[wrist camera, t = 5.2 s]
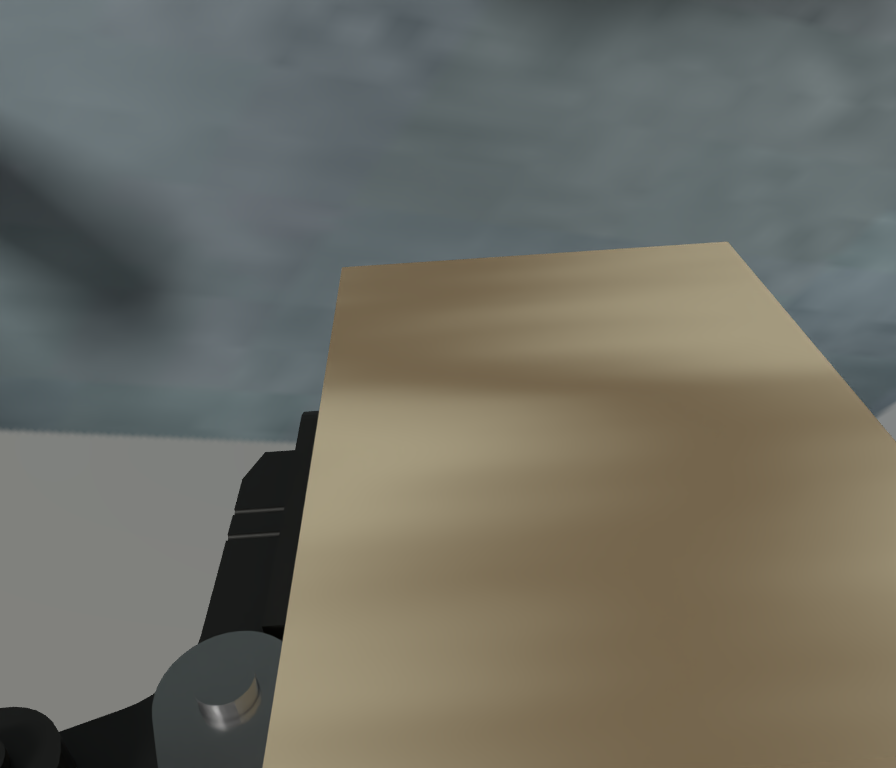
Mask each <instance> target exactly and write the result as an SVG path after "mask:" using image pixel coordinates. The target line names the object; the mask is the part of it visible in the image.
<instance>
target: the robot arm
mask: <svg viewBox="0 0 896 768" xmlns="http://www.w3.org/2000/svg"><path fill="white" fill-rule="evenodd" d="M318 416H319V411H309V412H303V414H302V417H301V422H300V427H299V432H298V438H297V443H296V448H295V450H292V451H277V452H265V453H264V454H263V456H262V457H261V458H260V459H259V460H258V461H257V463H256V464H255V465H254V466H253V467H252V469H251V470H250V471H249V472H248V473H247V474H246V476H245V477H244V478H243V479H242V483H241V487H240V491H239V494H238V498H237V502H236V505H235V515H233V517H232V521H231V524H230V528H229V532H228V541H226V543H225V547H224V551H223V555H222V559H221V562H220V566H219V570H218V573H217V577H216V581H215V585H214V589H213V592H212V596H211V600H210V604H209V607H208V611H207V615H206V619H205V623H204V626H203V630H202V634H201V637H200V640H199V643H198V645H196V646H194V647H192V648H191V649H190V650H189V651H187V652H186V653H184V654H183V655H182V656H181V657H180V658H179V659H178V660H177V661H175V662H174V663H173V664H172V666H171V667H170V668H169V669H168V671H167V672H166V673H165V674H164V676H163V678H162V679H161V681H160V683H159V685H158V687H157V690H156V692H155V693H154V694H153V695H151V696H150V697H148V698H146V699H144V700H142V701H141V702H139V703H137V704H134V705H132V706H130V707H127V708H125V709H122V710H119V711H117V712H114V713H111V714H108V715H105V716H103V717H100V718H97V719H94V720H91V721H89V722H86V723H83V724H80V725H77V726H74V727H72V728H69V729H66V730H63V731H60V732H58V730H57V728H56V727H55V725H54V724H53V722H52V721H51V720H50V719H49V718H48V717H47V716H46V715H44V714H42V713H40V712H38V711H36V710H32V709H29V708H22V707H8V708H0V768H263V761H264V755H265V749H266V743H267V736H268V730H269V724H270V717H271V711H272V705H273V699H274V692H275V686H276V680H277V673H278V667H279V661H280V655H281V648H282V642H283V636H284V629H285V623H286V617H287V611H288V604H289V598H290V592H291V586H292V579H293V573H294V567H295V560H296V554H297V548H298V542H299V535H300V529H301V523H302V516H303V510H304V504H305V498H306V491H307V485H308V479H309V473H310V466H311V460H312V454H313V447H314V441H315V435H316V429H317V422H318Z"/></svg>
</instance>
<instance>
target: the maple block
mask: <svg viewBox="0 0 896 768" xmlns="http://www.w3.org/2000/svg"><path fill="white" fill-rule="evenodd" d="M263 768H896V441H895V440H894V439H893V438H892V437H891V435H890V434H889V433H888V432H887V431H886V430H885V428H884V427H883V426H882V425H881V424H880V422H879V421H878V420H877V419H876V418H875V416H874V415H873V414H872V413H871V412H870V410H869V409H868V408H867V407H866V406H865V405H864V403H863V402H862V401H861V400H860V399H859V397H858V396H857V395H856V394H855V393H854V391H853V390H852V389H851V388H850V387H849V385H848V384H847V383H846V382H845V381H844V380H843V378H842V377H841V376H840V375H839V374H838V372H837V371H836V370H835V369H834V368H833V366H832V365H831V364H830V363H829V362H828V361H827V359H826V358H825V357H824V356H823V355H822V353H821V352H820V351H819V350H818V349H817V347H816V346H815V345H814V344H813V343H812V341H811V340H810V339H809V338H808V337H807V336H806V334H805V333H804V332H803V331H802V330H801V328H800V327H799V326H798V325H797V324H796V322H795V321H794V320H793V319H792V318H791V317H790V315H789V314H788V313H787V312H786V311H785V309H784V308H783V307H782V306H781V305H780V303H779V302H778V301H777V300H776V299H775V297H774V296H773V295H772V294H771V293H770V292H769V290H768V289H767V288H766V287H765V286H764V284H763V283H762V282H761V281H760V280H759V278H758V277H757V276H756V275H755V274H754V272H753V271H752V270H751V269H750V268H749V267H748V265H747V264H746V263H745V262H744V261H743V259H742V258H741V257H740V256H739V255H738V253H737V252H736V251H735V250H734V249H733V248H732V246H731V245H730V244H729V243H728V242H717V243H702V244H687V245H672V246H657V247H642V248H627V249H612V250H597V251H582V252H567V253H552V254H537V255H522V256H507V257H492V258H477V259H462V260H447V261H432V262H417V263H402V264H387V265H372V266H357V267H342V272H341V278H340V284H339V290H338V297H337V303H336V309H335V316H334V322H333V328H332V334H331V341H330V347H329V353H328V359H327V366H326V372H325V378H324V385H323V391H322V397H321V403H320V410H319V416H318V422H317V429H316V435H315V441H314V447H313V454H312V460H311V466H310V473H309V479H308V485H307V491H306V498H305V504H304V510H303V516H302V523H301V529H300V535H299V542H298V548H297V554H296V560H295V567H294V573H293V579H292V586H291V592H290V598H289V604H288V611H287V617H286V623H285V629H284V636H283V642H282V648H281V655H280V661H279V667H278V673H277V680H276V686H275V692H274V699H273V705H272V711H271V717H270V724H269V730H268V736H267V743H266V749H265V755H264V761H263Z"/></svg>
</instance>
